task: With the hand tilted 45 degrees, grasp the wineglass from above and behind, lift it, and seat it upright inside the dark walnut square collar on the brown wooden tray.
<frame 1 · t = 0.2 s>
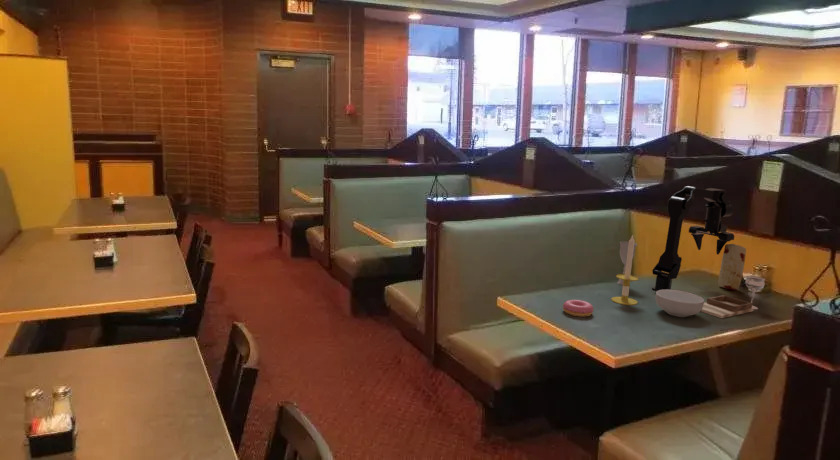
hand: (708, 252, 280), 15 cm above the table, tool pointing down, fingers open, 9 cm apart
brown wooden tray: (721, 309, 245), on the table
candle: (624, 301, 249), on the table
doughnut: (577, 313, 231), on the table
food model: (728, 289, 277), on the table
cereal bowl: (677, 314, 237), on the table
wineglass: (750, 307, 251), on the table
chalice: (623, 284, 275), on the table
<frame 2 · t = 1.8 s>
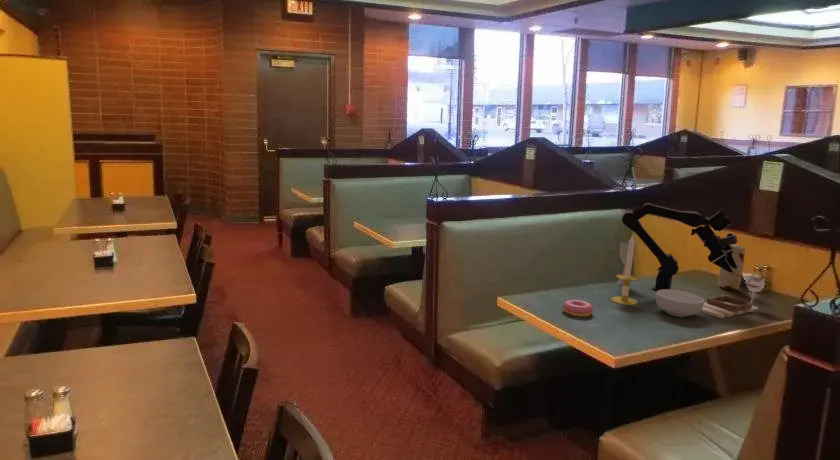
hand: (734, 270, 254), 13 cm above the table, tool tilted 45°, fingers open, 9 cm apart
nothing on the table moved.
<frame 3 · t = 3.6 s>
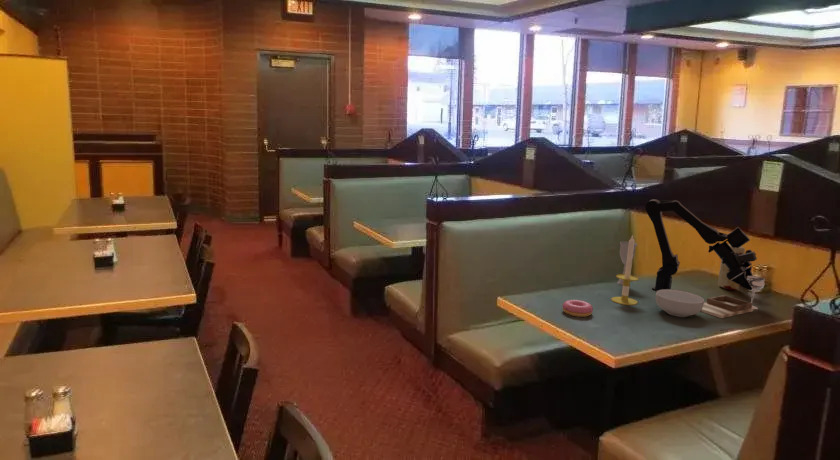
hand: (753, 287, 250), 8 cm above the table, tool tilted 45°, fingers open, 9 cm apart
nothing on the table moved.
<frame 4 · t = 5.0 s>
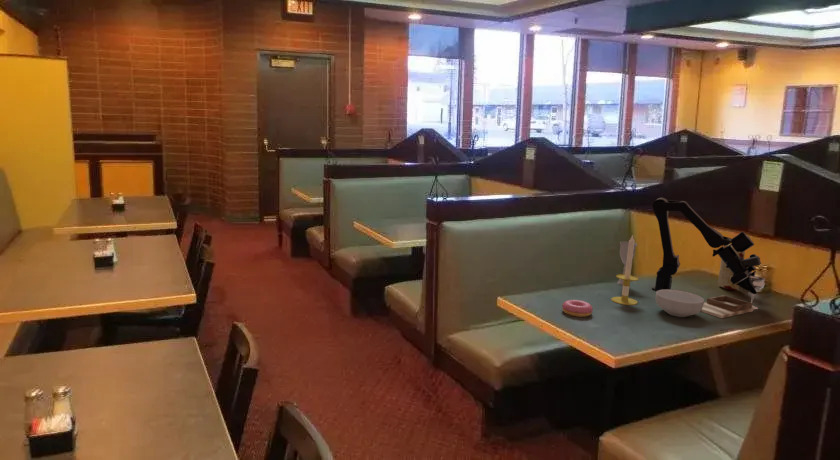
hand: (757, 292, 249), 7 cm above the table, tool tilted 45°, fingers closed on wineglass, 6 cm apart
wineglass: (750, 307, 251), on the table, touching gripper
everything else where it was.
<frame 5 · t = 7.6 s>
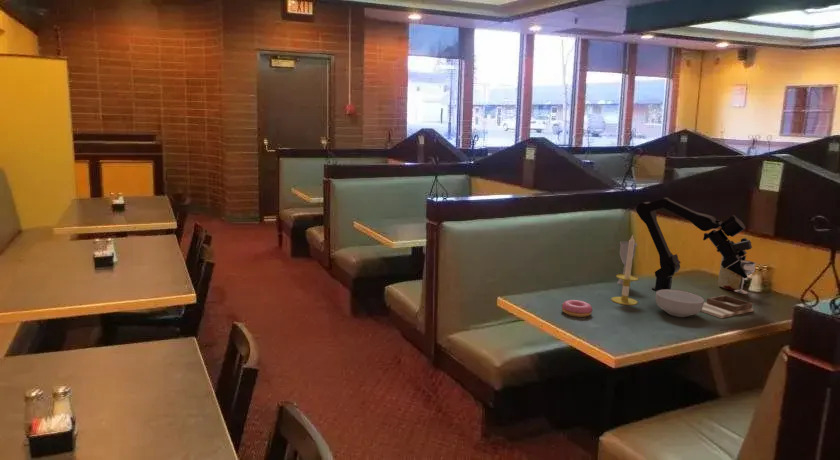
hand: (747, 276, 246), 13 cm above the table, tool tilted 45°, fingers closed on wineglass, 6 cm apart
wineglass: (741, 292, 249), point 6 cm above the table, touching gripper
everything else where it was.
when the fingers open (9 cm above the table, at t = 10.2 s): wineglass stays where it is, resting on brown wooden tray.
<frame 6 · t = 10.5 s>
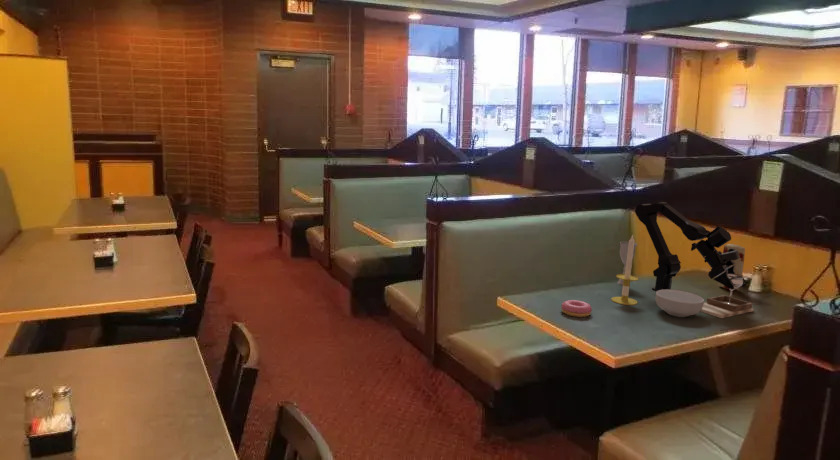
hand: (735, 286, 245), 9 cm above the table, tool tilted 45°, fingers open, 9 cm apart
wineglass: (728, 305, 248), point 1 cm above the table, touching brown wooden tray
everything else where it was.
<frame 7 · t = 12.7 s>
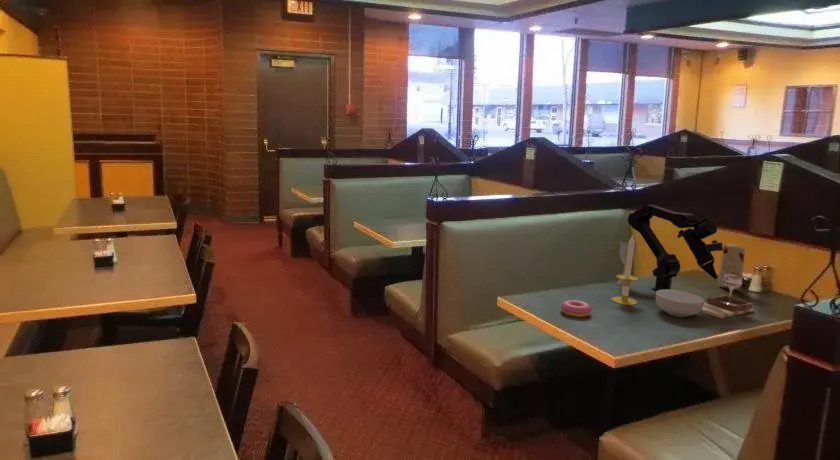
hand: (716, 277, 251), 11 cm above the table, tool tilted 35°, fingers open, 9 cm apart
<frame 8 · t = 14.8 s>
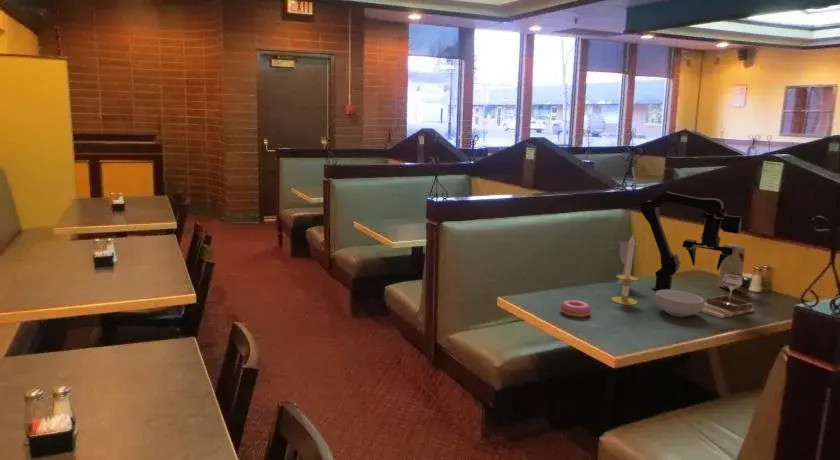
hand: (705, 267, 257), 13 cm above the table, tool pointing down, fingers open, 9 cm apart
at the end: wineglass 0.1 cm from the target spot on the brown wooden tray, point 0.8 cm above the brown wooden tray's base; wineglass tilted 0°; the gripper is holding nothing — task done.
